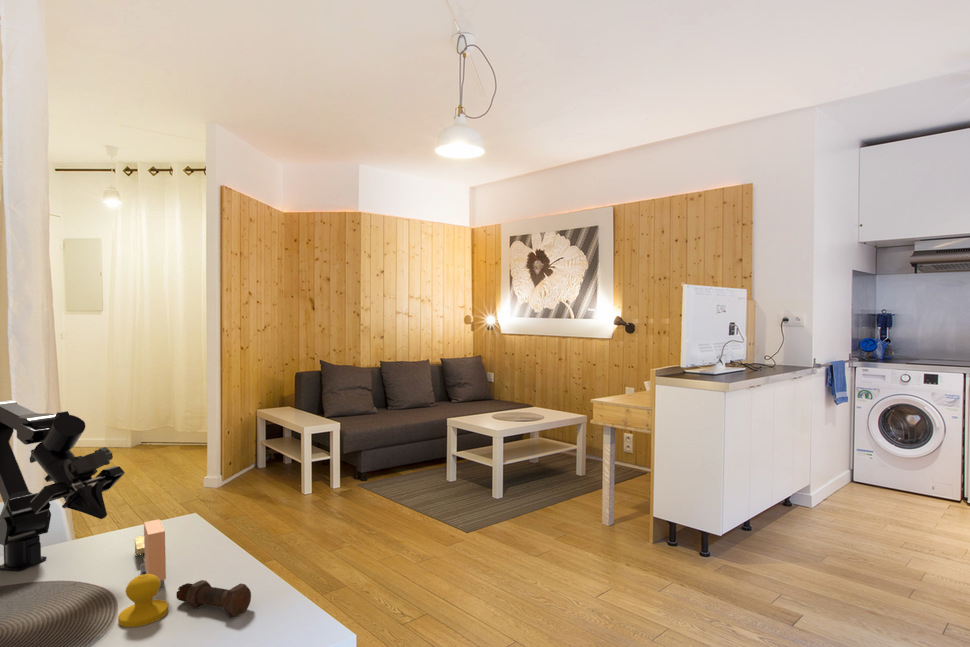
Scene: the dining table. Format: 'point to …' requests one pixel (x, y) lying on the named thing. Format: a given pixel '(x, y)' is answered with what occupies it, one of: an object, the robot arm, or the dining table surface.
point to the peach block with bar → (154, 550)
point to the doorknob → (143, 602)
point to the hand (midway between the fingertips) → (104, 517)
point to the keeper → (139, 545)
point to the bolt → (216, 597)
